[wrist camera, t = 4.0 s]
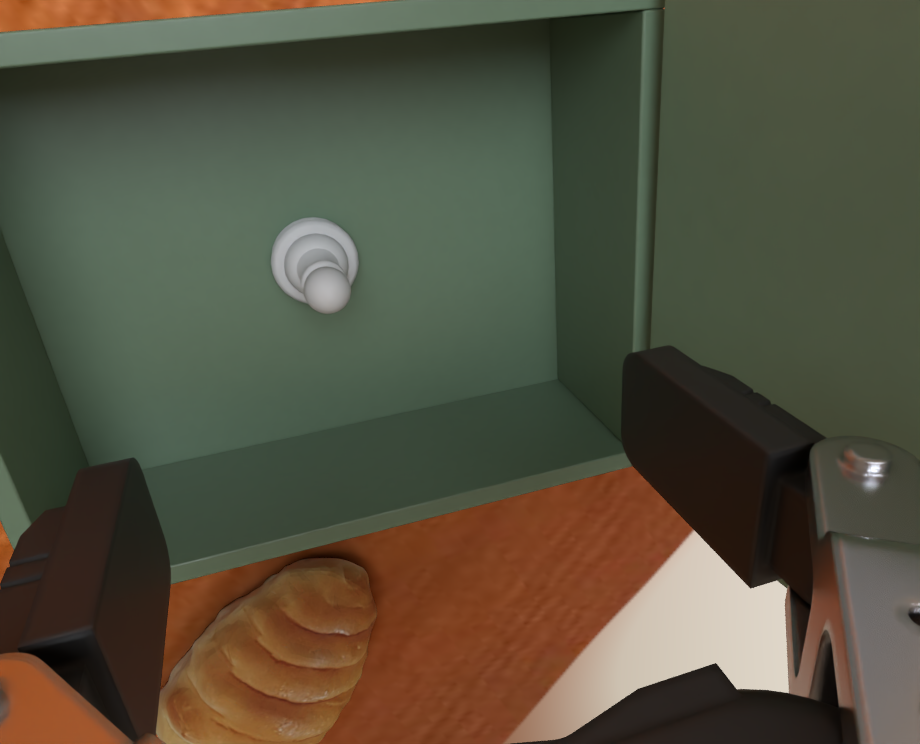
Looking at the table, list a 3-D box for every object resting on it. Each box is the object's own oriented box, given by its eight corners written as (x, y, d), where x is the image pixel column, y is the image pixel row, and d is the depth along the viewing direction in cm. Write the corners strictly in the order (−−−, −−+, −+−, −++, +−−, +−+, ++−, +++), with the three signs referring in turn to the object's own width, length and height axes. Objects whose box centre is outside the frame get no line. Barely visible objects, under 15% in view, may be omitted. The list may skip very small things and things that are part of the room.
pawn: (372, 258, 22) (400, 297, 19) (312, 314, 22) (329, 363, 19) (314, 196, 21) (332, 227, 18) (251, 256, 21) (256, 298, 18)
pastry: (263, 517, 26) (271, 588, 22) (413, 573, 29) (438, 642, 25) (138, 703, 27) (128, 794, 24) (292, 736, 30) (301, 821, 27)
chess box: (83, 489, 23) (43, 618, 18) (-87, 48, 17) (-219, 49, 12) (565, 382, 27) (646, 463, 22) (558, -6, 21) (668, -23, 16)
